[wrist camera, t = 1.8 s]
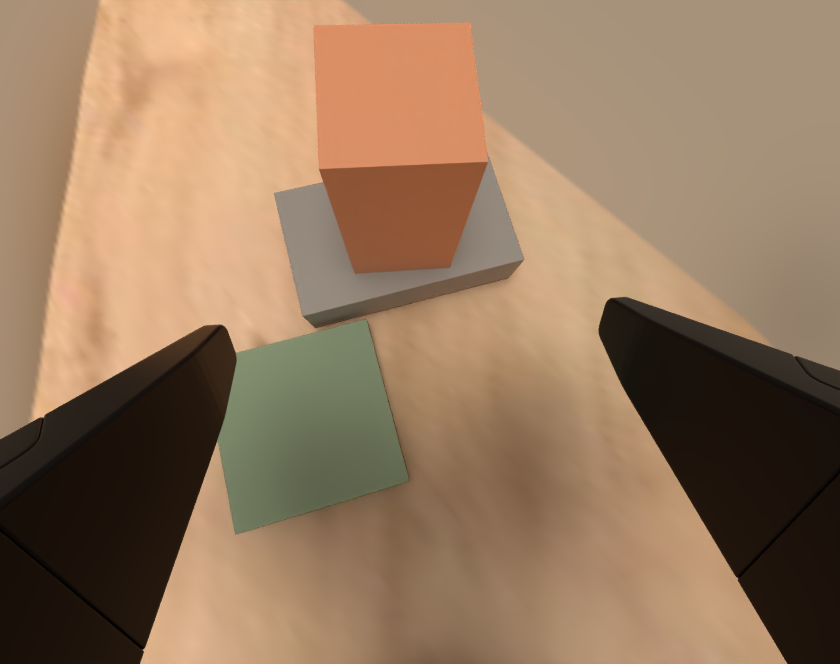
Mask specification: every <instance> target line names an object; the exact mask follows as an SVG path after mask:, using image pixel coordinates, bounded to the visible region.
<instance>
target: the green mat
mask: <svg viewBox="0 0 840 664" xmlns="http://www.w3.org/2000/svg"><path fill="white" fill-rule="evenodd" d="M236 357H237V363H236V368H235V373H234V378H233V383H232V387H231V392H230V397H229V401H228V406H227V411H226V415H225V419H224V422H223V425H222V428H221V431H220V434H219V437H218V444H219V449H220V455H221V460H222V465H223V471H224V476H225V482H226V487H227V493H228V498H229V503H230V509H231V514H232V520H233V525H234V531H235V535H236V534H239V533H243V532H246V531H249V530H252V529H256V528H259V527H262V526H265V525H269V524H272V523H275V522H278V521H282V520H285V519H288V518H291V517H295V516H298V515H301V514H305V513H308V512H311V511H314V510H318V509H321V508H324V507H327V506H331V505H334V504H337V503H340V502H344V501H347V500H350V499H353V498H357V497H360V496H363V495H366V494H370V493H373V492H376V491H379V490H383V489H386V488H389V487H392V486H396V485H399V484H402V483H405V482H409V477H408V474H407V470H406V466H405V462H404V458H403V455H402V451H401V447H400V443H399V439H398V436H397V432H396V428H395V424H394V420H393V417H392V413H391V409H390V405H389V401H388V398H387V394H386V390H385V386H384V382H383V379H382V375H381V371H380V367H379V364H378V360H377V356H376V352H375V348H374V345H373V341H372V337H371V333H370V329H369V326H368V322H367V320H366V319H365V320H361V321H357V322H353V323H349V324H346V325H342V326H338V327H334V328H330V329H326V330H323V331H319V332H315V333H311V334H307V335H303V336H300V337H296V338H292V339H288V340H284V341H280V342H277V343H273V344H269V345H265V346H261V347H257V348H254V349H250V350H246V351H242V352H238V353H236Z"/></svg>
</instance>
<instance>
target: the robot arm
mask: <svg viewBox="0 0 840 664" xmlns="http://www.w3.org/2000/svg"><path fill="white" fill-rule="evenodd" d="M599 336H600V339H601V341H602V343H603V345H604V348H605V350H606V352H607V354H608V356H609V359H610V361H611V363H612V365H613V367H614V370H615V372H616V374H617V376H618V378H619V381H620V383H621V385H622V387H623V388H624V390H625V392H626V394H627V395H628V397H629V399H630V400H631V402H632V404H633V405H634V407H635V409H636V411H637V412H638V414H639V416H640V417H641V419H642V421H643V422H644V424H645V426H646V427H647V429H648V431H649V432H650V434H651V436H652V437H653V439H654V441H655V442H656V444H657V446H658V447H659V449H660V451H661V452H662V454H663V456H664V457H665V459H666V461H667V462H668V464H669V466H670V467H671V469H672V471H673V472H674V474H675V476H676V477H677V479H678V481H679V482H680V484H681V486H682V488H683V489H684V491H685V493H686V494H687V496H688V498H689V499H690V501H691V503H692V504H693V506H694V508H695V509H696V511H697V513H698V514H699V516H700V518H701V519H702V521H703V523H704V524H705V526H706V528H707V529H708V531H709V533H710V534H711V536H712V538H713V539H714V541H715V543H716V544H717V546H718V548H719V549H720V551H721V553H722V554H723V556H724V558H725V560H726V561H727V563H728V565H729V566H730V568H731V570H732V571H733V573H734V575H735V576H736V577H737V578H738V582H739V583H740V585H741V587H742V588H743V590H744V592H745V593H746V595H747V597H748V599H749V600H750V602H751V604H752V605H753V607H754V609H755V610H756V612H757V614H758V615H759V617H760V619H761V620H762V622H763V624H764V625H765V627H766V629H767V630H768V632H769V634H770V635H771V637H772V639H773V640H774V642H775V644H776V645H777V647H778V649H779V650H780V652H781V654H782V656H783V657H784V659H785V661H786V662H787V664H840V371H839V370H836V369H833V368H830V367H827V366H824V365H821V364H818V363H816V362H813V361H809V360H807V359H804V358H801V357H798V356H795V357H794V356H793V355H792V354H789V353H787V352H784V351H780V350H778V349H775V348H772V347H769V346H766V345H763V344H761V343H758V342H755V341H752V340H749V339H746V338H743V337H740V336H738V335H735V334H732V333H729V332H726V331H723V330H720V329H717V328H714V327H712V326H709V325H706V324H703V323H700V322H697V321H694V320H691V319H689V318H686V317H683V316H680V315H677V314H674V313H671V312H668V311H665V310H663V309H660V308H657V307H654V306H651V305H648V304H645V303H642V302H640V301H637V300H634V299H631V298H628V297H618V298H610V299H609V300H607V302H606V304H605V307H604V311H603V314H602V317H601V321H600V324H599ZM236 363H237V357H236V353H235V350H234V347H233V344H232V342H231V339H230V336H229V333H228V331H227V329H226V328H225V326H223V325H206V326H203V327H201V328H199V329H197V330H195V331H194V332H192V333H190V334H188V335H187V336H185V337H183V338H181V339H179V340H178V341H176V342H174V343H172V344H170V345H169V346H167V347H165V348H163V349H162V350H160V351H158V352H156V353H154V354H153V355H151V356H149V357H147V358H145V359H144V360H142V361H140V362H138V363H137V364H135V365H133V366H131V367H129V368H128V369H126V370H124V371H122V372H120V373H119V374H117V375H115V376H113V377H112V378H110V379H108V380H106V381H104V382H103V383H101V384H99V385H97V386H95V387H94V388H92V389H90V390H88V391H87V392H85V393H83V394H81V395H79V396H78V397H76V398H74V399H72V400H70V401H69V402H67V403H65V404H63V405H62V406H60V407H58V408H56V409H54V410H53V411H51V412H49V413H47V414H46V415H45V416H44V418H42V417H41V418H38V419H36V420H35V421H33V422H31V423H29V424H28V425H26V426H24V427H22V428H20V429H19V430H17V431H15V432H13V433H11V434H10V435H8V436H6V437H4V438H2V439H0V664H140V662H141V659H142V656H143V653H144V651H143V649H144V648H145V647H146V644H147V641H148V638H149V635H150V632H151V629H152V626H153V624H154V621H155V618H156V615H157V612H158V609H159V606H160V603H161V601H162V598H163V595H164V592H165V589H166V586H167V583H168V581H169V578H170V575H171V572H172V569H173V566H174V563H175V560H176V558H177V555H178V552H179V549H180V546H181V543H182V540H183V537H184V535H185V532H186V529H187V526H188V523H189V520H190V517H191V515H192V512H193V509H194V506H195V503H196V500H197V497H198V494H199V492H200V489H201V486H202V483H203V480H204V477H205V474H206V471H207V469H208V466H209V463H210V460H211V457H212V454H213V451H214V449H215V446H216V443H217V440H218V437H219V434H220V431H221V428H222V425H223V422H224V419H225V415H226V411H227V406H228V401H229V397H230V392H231V387H232V383H233V378H234V373H235V368H236Z"/></svg>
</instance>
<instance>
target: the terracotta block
mask: <svg viewBox="0 0 840 664" xmlns="http://www.w3.org/2000/svg"><path fill="white" fill-rule="evenodd" d="M313 27H314V53H315V79H316V105H317V131H318V156H319V171H320V173H321V176H322V179H323V182H324V185H325V188H326V191H327V194H328V197H329V200H330V203H331V206H332V209H333V212H334V214H335V217H336V220H337V223H338V226H339V229H340V232H341V235H342V238H343V241H344V244H345V247H346V250H347V253H348V255H349V258H350V261H351V264H352V267H353V270H354V273H355V274H356V273H372V272H389V271H405V270H421V269H437V268H450V266H451V263H452V261H453V258H454V255H455V252H456V249H457V247H458V244H459V241H460V238H461V236H462V233H463V230H464V227H465V225H466V222H467V219H468V216H469V214H470V211H471V208H472V205H473V203H474V200H475V197H476V194H477V191H478V189H479V186H480V183H481V180H482V178H483V175H484V172H485V169H486V167H487V164H488V156H487V148H486V140H485V132H484V125H483V117H482V109H481V101H480V94H479V86H478V79H477V71H476V63H475V55H474V48H473V40H472V32H471V24H470V23H427V24H374V25H323V26H313Z"/></svg>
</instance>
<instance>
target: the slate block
mask: <svg viewBox="0 0 840 664" xmlns="http://www.w3.org/2000/svg"><path fill="white" fill-rule="evenodd" d="M487 156H488V153H487ZM274 196H275V200H276V205H277V209H278V213H279V217H280V222H281V226H282V230H283V235H284V239H285V243H286V247H287V252H288V256H289V260H290V264H291V269H292V273H293V277H294V282H295V286H296V290H297V294H298V299H299V303H300V307H301V311H302V316H303V317H304V318H305V319H306V320H307V321H308V322H310V323H311V324H312V325H313V326H314V327H315V328H317V327H321V326H325V325H329V324H332V323H336V322H340V321H344V320H348V319H352V318H356V317H359V316H363V315H367V314H371V313H375V312H379V311H382V310H386V309H390V308H394V307H398V306H402V305H406V304H409V303H413V302H417V301H421V300H425V299H429V298H433V297H436V296H440V295H444V294H448V293H452V292H456V291H460V290H463V289H467V288H471V287H475V286H479V285H483V284H486V283H490V282H494V281H498V280H502V279H506V278H509V277H510V276H511V275H512V273H513V272H514V271H515V270H516V269H517V268H518V266H519V265H520V264H521V263H522V262H523V260H524V257H523V254H522V251H521V248H520V245H519V242H518V239H517V237H516V234H515V231H514V228H513V225H512V222H511V219H510V216H509V213H508V211H507V208H506V205H505V202H504V199H503V196H502V193H501V190H500V187H499V185H498V182H497V179H496V176H495V173H494V170H493V167H492V164H491V161H490V159H489V156H488V164H487V167H486V169H485V172H484V175H483V178H482V180H481V183H480V186H479V189H478V191H477V194H476V197H475V200H474V203H473V205H472V208H471V211H470V214H469V216H468V219H467V222H466V225H465V227H464V230H463V233H462V236H461V238H460V241H459V244H458V247H457V249H456V252H455V255H454V258H453V261H452V263H451V266H450V268H437V269H421V270H405V271H389V272H372V273H356V274H355V273H354V270H353V267H352V264H351V261H350V258H349V255H348V253H347V250H346V247H345V244H344V241H343V238H342V235H341V232H340V229H339V226H338V223H337V220H336V217H335V214H334V212H333V209H332V206H331V203H330V200H329V197H328V194H327V191H326V188H325V185H324V182H322V183H318V184H313V185H309V186H304V187H300V188H295V189H291V190H286V191H282V192H277V193H274Z"/></svg>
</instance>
